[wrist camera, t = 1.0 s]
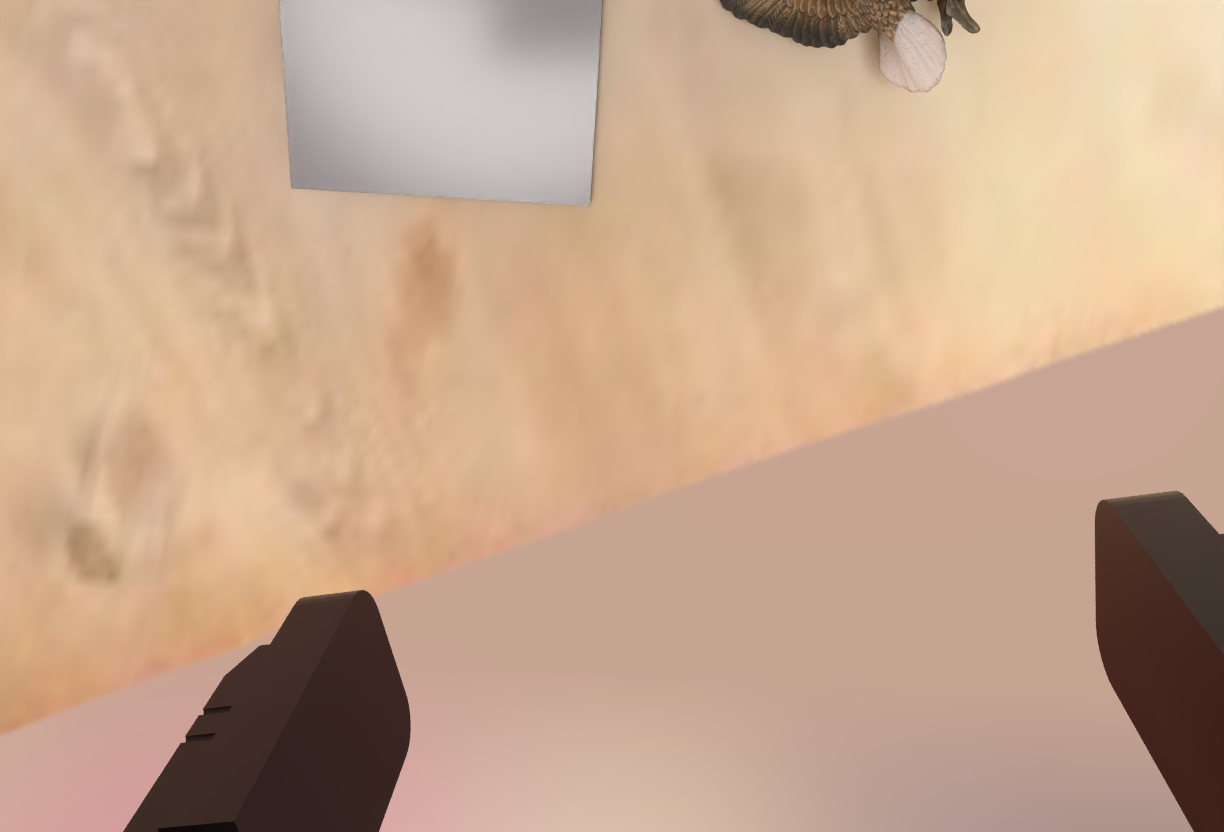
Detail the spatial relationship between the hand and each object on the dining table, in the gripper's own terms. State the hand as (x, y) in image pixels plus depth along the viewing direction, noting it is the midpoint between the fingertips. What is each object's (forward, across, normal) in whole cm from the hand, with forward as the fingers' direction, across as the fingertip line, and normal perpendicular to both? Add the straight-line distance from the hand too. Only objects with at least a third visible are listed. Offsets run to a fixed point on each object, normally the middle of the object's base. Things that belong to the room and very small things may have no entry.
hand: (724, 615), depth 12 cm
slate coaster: (+29, +8, -6) cm, 31 cm away
